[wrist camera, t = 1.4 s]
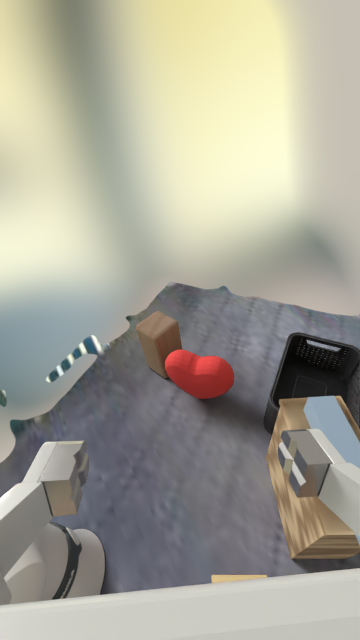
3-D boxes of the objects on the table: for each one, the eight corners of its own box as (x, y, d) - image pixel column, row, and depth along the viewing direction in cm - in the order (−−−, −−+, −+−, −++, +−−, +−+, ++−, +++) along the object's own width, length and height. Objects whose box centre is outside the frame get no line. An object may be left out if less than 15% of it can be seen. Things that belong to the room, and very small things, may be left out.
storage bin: (342, 467, 57) (363, 442, 48) (260, 431, 65) (265, 404, 57) (348, 377, 75) (364, 347, 66) (283, 357, 83) (290, 329, 75)
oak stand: (347, 561, 45) (419, 533, 28) (289, 561, 46) (326, 535, 29) (308, 454, 59) (340, 395, 43) (264, 456, 60) (279, 399, 44)
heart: (235, 392, 75) (237, 352, 63) (229, 418, 69) (231, 378, 57) (176, 378, 82) (168, 339, 70) (166, 399, 76) (156, 361, 64)
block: (146, 366, 87) (133, 325, 74) (166, 350, 92) (157, 309, 80) (166, 380, 81) (155, 338, 69) (185, 362, 86) (178, 320, 74)
